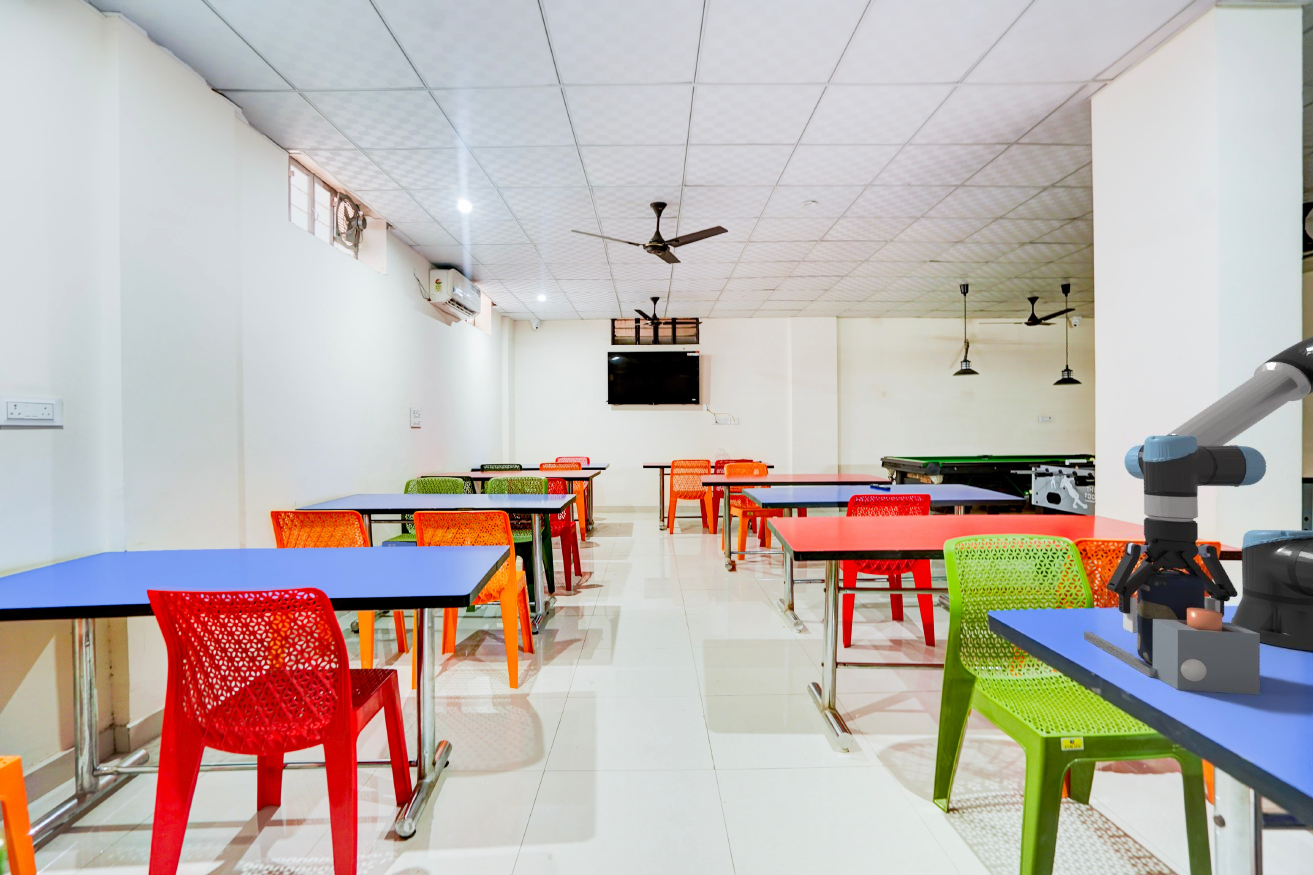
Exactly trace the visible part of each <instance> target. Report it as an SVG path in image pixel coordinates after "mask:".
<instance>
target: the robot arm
mask: <svg viewBox="0 0 1313 875" xmlns="http://www.w3.org/2000/svg"><path fill="white" fill-rule="evenodd" d="M1310 394H1313V336H1310V337H1308V338H1305V339H1304V340H1301V341H1298V342H1297V343H1295V344H1293V345H1291V346H1289V347H1287V348H1286V349H1284V350H1282V351H1280V352H1279V353H1277V354H1276V355H1273V356H1272V357H1270V358H1269V359H1268V360H1266V361H1265V362H1263V363H1262V364H1261V365H1259V366H1258V367H1257V368H1255V370H1254V373H1253V376H1251V377H1250V378H1249V379H1248V380H1246V381H1245V382H1243V383H1242V384H1240V385H1238V386H1237V387H1236V388H1234V389H1233V390H1231V391H1230V392H1228V393H1226V394H1225V395H1224V396H1222V397H1221V398H1220V399H1218V400H1216V401H1214V402H1213V403H1212V404H1211V405H1209V406H1208V407H1206V408H1205V409H1203V410H1202V411H1200V412H1199V413H1197V414H1196V415H1194V416H1192V417H1191V418H1190V419H1189V420H1187V421H1186V422H1184V423H1182V424H1181V425H1179V426H1178V427H1176V428H1175V429H1173V430H1172V431H1171V432H1170V433H1167V434H1166V435H1150V436H1148V437H1146V438H1145V440H1144V443H1143V444H1139V445H1134V446H1133V447H1131V448H1129V450H1128V451H1127V452H1126V454H1125V456H1124V466H1125V469H1126V471H1127V472H1128V474H1129V475H1130V476H1132V477H1134V478H1135V479H1140V480H1143V514H1144V515H1145V516H1146V517H1145V518H1144V519H1143V535H1144V539H1145V542H1144V543H1143V544H1137V543H1133V542H1131V541H1130V542H1126V543H1125V546H1124V554H1123V556H1122V558H1121V559H1120V561H1119V563H1118V564H1117V566H1116V569H1115V570H1114V572H1113V574H1112V575H1111V577H1110V579H1109V581H1108V582H1107V584H1106V589H1107V590H1109V591H1111V592H1113V593H1115V594H1117V595H1118V611H1119V612H1120V613H1122V620H1123V622H1122V629H1124V630H1125V631H1127V632H1130V633H1132V634H1137V597H1136V596H1133V595H1134V594H1135V593H1136V592H1137V590H1138V589H1139V588H1140V587H1141V586H1142V585H1143V584H1144V583H1145V581H1146V580H1147V579H1148V577H1149V576H1151V575H1152V574H1153V573H1154V572H1156V571H1158V570H1161V569H1173V568H1174V569H1178V570H1181V571H1183V570H1184V571H1186V573H1188V574H1192V575H1195V576H1198V577H1200V578H1201V579H1202V580H1203V581H1204V589H1205V592H1206V594H1207V595H1209V596H1205V609H1209V610H1213V611H1217V612H1220V613H1222V618H1224V616H1225V602H1230V600H1231V598H1236V597H1237V596H1238V591H1237V590H1236V587H1235V586H1234V584H1233V582H1232V581H1231V578H1230V577H1229V575H1228V573H1227V572H1226V570H1225V568H1224V566H1223V565H1222V563H1221V561H1220V559H1219V556H1218V549H1217V547H1216V546H1214V545H1211V544H1207V543H1200V545H1197V543H1196V542H1197V540H1198V539H1199V537H1198V534H1199V532H1198V531H1199V529H1198V527H1199V526H1198V522H1197V521H1196V520H1194V519H1197V518H1198V517H1199V510H1198V509H1199V506H1198V491H1199V489H1198V487H1201V486H1203V487H1235V488H1237V487H1243V486H1252V485H1254V484H1257V483H1259V481H1261V480H1262V479H1263V478H1264V476H1265V475H1266V471H1267V469H1266V468H1267V461H1266V459H1265V457H1264V455H1263V454H1262V453H1261V452H1260V451H1259V450H1258V449H1256V448H1253V447H1251V446H1247V445H1246V446H1245V445H1237V444H1236V445H1235V444H1234V445H1233V444H1230V445H1226V444H1228V443H1229V442H1231V441H1232V440H1233V439H1235V438H1236V437H1238V436H1239V435H1241V434H1242V433H1244V432H1245V431H1247V430H1248V429H1250V428H1251V427H1253V426H1254V425H1256V424H1257V423H1258V422H1260V421H1261V420H1263V419H1265V418H1266V417H1268V416H1270V415H1271V414H1272V413H1274V412H1275V411H1277V410H1278V409H1280V408H1281V407H1283V406H1284V405H1286V404H1287V403H1288V402H1296V401H1300V400H1303V399H1305V398H1306V397H1308V396H1309V395H1310ZM1144 554H1145V555H1146V556H1145V557H1144V558H1143V559H1142V560H1141V561H1140V564H1139V566H1138V567H1137V568H1136V566H1137V564H1138V562H1139V560H1140V557H1141V556H1143V555H1144ZM1197 555H1198V556H1199V557H1200V558H1201V561H1202V562H1203V564H1204V566H1205V568H1206V569H1207V572H1208V573H1209V576H1208V575H1207V574H1206V572H1205V571H1204V570H1203V569H1202V566H1201V565H1200V564H1199V563H1198V562H1197V561H1196V560H1195V558H1196V557H1197ZM1135 568H1136V569H1135ZM1241 575H1242V577H1241V578H1242V581H1241V582H1242V585H1241V586H1242V594H1241V595H1242V596H1241V599H1240V602H1239V603H1238V605H1237V608H1236V610H1235V613H1234V615H1233V617H1232V618H1231V619H1230V620H1231V621H1230V623H1232V624H1235V625H1238V626H1240V627H1243V628H1245V629H1248V630H1251V631H1253V632H1256V633H1259V634H1260V643H1263V644H1267V645H1271V646H1274V647H1275V646H1276V647H1282V648H1287V649H1288V648H1289V649H1293V650H1294V649H1295V650H1299V651H1301V650H1302V651H1312V652H1313V530H1294V529H1293V530H1292V529H1291V530H1290V529H1289V530H1287V529H1285V530H1284V529H1275V530H1274V529H1253V530H1248V531H1246V532H1245V533H1244V535H1243V538H1242V547H1241ZM1211 578H1212V579H1211Z"/></svg>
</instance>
